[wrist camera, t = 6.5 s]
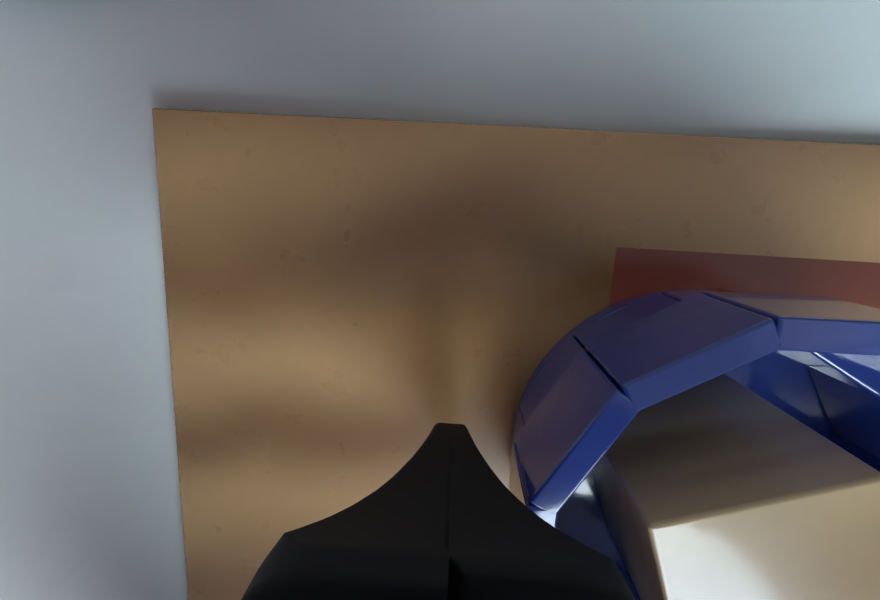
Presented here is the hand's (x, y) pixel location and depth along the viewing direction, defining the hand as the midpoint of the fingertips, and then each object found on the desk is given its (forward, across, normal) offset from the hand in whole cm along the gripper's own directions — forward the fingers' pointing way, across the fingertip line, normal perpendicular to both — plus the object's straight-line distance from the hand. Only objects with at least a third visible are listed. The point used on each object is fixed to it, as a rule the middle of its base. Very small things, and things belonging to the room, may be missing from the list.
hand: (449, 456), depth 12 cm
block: (+1, -6, 0) cm, 6 cm away
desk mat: (+2, -4, +1) cm, 4 cm away
